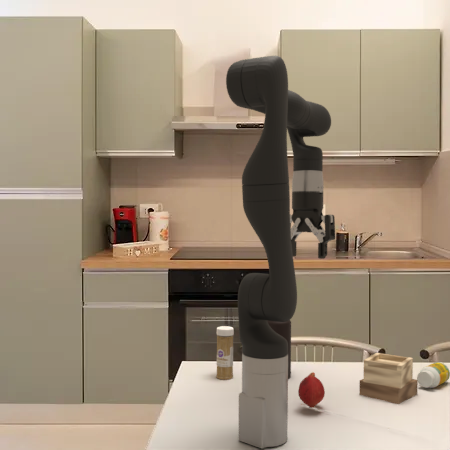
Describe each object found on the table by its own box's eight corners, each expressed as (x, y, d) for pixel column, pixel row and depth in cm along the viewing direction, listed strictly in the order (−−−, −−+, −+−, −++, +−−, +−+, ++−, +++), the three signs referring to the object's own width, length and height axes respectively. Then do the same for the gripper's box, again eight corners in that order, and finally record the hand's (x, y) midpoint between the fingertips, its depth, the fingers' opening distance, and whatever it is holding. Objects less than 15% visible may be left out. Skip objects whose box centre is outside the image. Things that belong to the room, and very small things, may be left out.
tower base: (398, 406, 134) (398, 389, 134) (359, 396, 141) (359, 380, 141) (417, 396, 142) (417, 379, 142) (379, 387, 149) (379, 372, 149)
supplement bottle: (428, 376, 154) (411, 383, 147) (434, 357, 153) (417, 364, 146) (447, 386, 151) (431, 394, 144) (453, 367, 150) (437, 374, 143)
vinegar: (276, 382, 151) (277, 305, 150) (260, 376, 156) (260, 302, 156) (296, 378, 155) (296, 303, 154) (279, 372, 160) (279, 299, 160)
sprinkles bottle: (213, 379, 154) (213, 328, 153) (219, 374, 158) (220, 325, 158) (230, 381, 152) (230, 329, 152) (235, 376, 156) (236, 326, 156)
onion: (304, 413, 128) (304, 376, 128) (294, 404, 134) (294, 369, 134) (328, 410, 130) (329, 374, 130) (317, 402, 135) (318, 368, 135)
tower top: (401, 388, 135) (401, 366, 135) (363, 381, 140) (363, 360, 140) (412, 379, 142) (412, 357, 142) (376, 373, 147) (376, 352, 147)
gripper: (274, 190, 143) (274, 256, 144) (324, 189, 134) (323, 260, 134) (292, 191, 149) (292, 255, 149) (341, 190, 139) (340, 258, 140)
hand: (307, 257), depth 142 cm, fingers open, 8 cm apart
